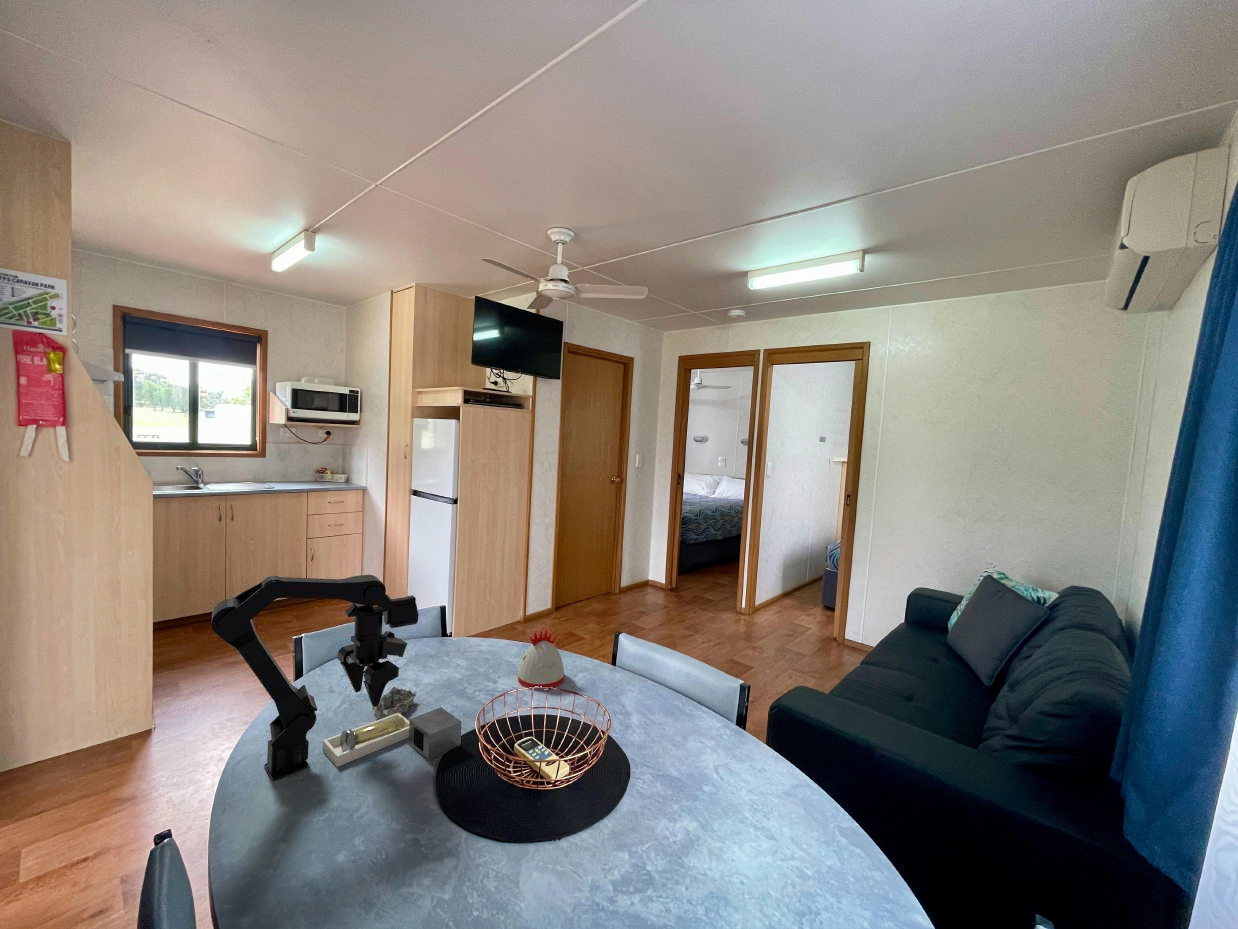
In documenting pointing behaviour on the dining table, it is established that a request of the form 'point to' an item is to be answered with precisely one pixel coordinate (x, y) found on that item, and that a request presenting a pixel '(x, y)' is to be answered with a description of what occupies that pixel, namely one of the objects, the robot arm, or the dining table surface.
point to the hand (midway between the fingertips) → (366, 698)
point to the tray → (340, 757)
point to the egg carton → (400, 699)
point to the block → (434, 733)
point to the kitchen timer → (541, 663)
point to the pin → (369, 733)
